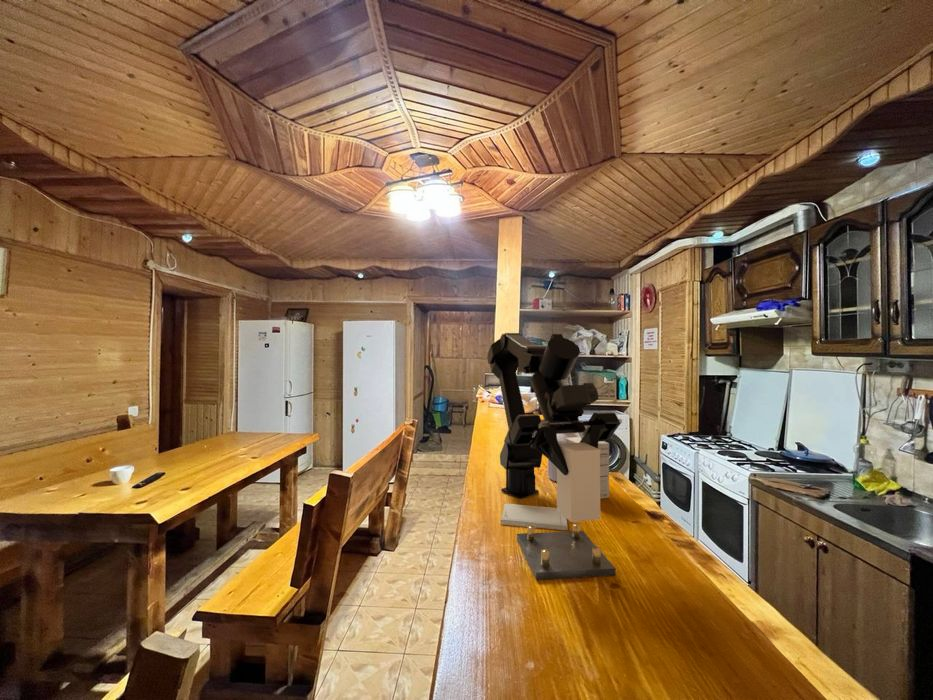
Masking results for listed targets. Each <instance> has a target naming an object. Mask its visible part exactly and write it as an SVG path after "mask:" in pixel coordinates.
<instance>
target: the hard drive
mask: <svg viewBox="0 0 933 700" xmlns="http://www.w3.org/2000/svg"><path fill="white" fill-rule="evenodd" d="M501 514H502V515H501V518H500V525H504V526H513V527H516V526H517V527H523V528H525V527H527V526H529V525H532V526H534V529H549V530H557V531H558V530H559V531H568V529H569V528H568V521H567V520H568V519H567V518H566V517H565V516H564V515H563V514H562V513H561V512H559V511H558V510H557V507H550V506H549V507H547V506H540V505H539V506H538V505H537V506H536V505H525V504H515V503H504V506H503V511H502V513H501Z"/></svg>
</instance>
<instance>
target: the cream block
mask: <svg viewBox="0 0 933 700" xmlns="http://www.w3.org/2000/svg"><path fill="white" fill-rule="evenodd" d="M559 446H560V448H561V451H562V453H563V456H564V458H565V461H566V464H567V467H568V471H569V473H568V474H567V475H564V474H563V473H562V472H561V471H560V470H559V469H558V468H557V482H556V508H557V510H558V511H559V512H561V513H562V514H563V515H564V516H565V517H566V519H567V520H568V521H569V522H571V523H576V522H588V521H596V520H597V521H598V520H601V499H600V449H598V448H595V447H593V446H591V445H588V444H586V443H584V442H583V443H564V444H559Z"/></svg>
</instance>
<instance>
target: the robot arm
mask: <svg viewBox="0 0 933 700" xmlns="http://www.w3.org/2000/svg"><path fill="white" fill-rule="evenodd" d="M580 350H581V349H580V347H579V345H578V344H576V343H575V342H574V341H572V340H570V339H568V338H566V337H564V335H563V333H561V334H559V333H552V334H551V335H550V338H549V341H548V342H547V344H546V345H541V344H536V343H534V342H533V341H531V340H529V339H528V338H526V337H525V336H523V334H522V333H519V332H504V333H502V334H501V336H500V338H499V339H497V340H496V341H495V342H493V343H491V345H490V347H489V349H488V351H487V358H486V359H487V363H488V365H489V366H490V371H491V373H492V374H493V375H494V376H495V377H496V378H497V379H498V381H499V386H500V392H501V396H502V402H503V406H504V412H505V417H506V421H507V427H508V430H507V433H506V436H505V437H504V439H503V445H502V449H501V451H500V454H499V462H500V465H501V466H502V468H503V469H504V470H505V487H503V488H501V489H500V490H501V492H503V493H505V494H507V495H510V496H512V497H514V498H518V499H520V500H521V499H524V498H527V497H530V496H531V497H532V496H534V495H536V494H537V495H538V494H539V493H540V491H539V489H536V475H535V469H536V468H537V469H539V468H541V465H542V461H543V456H544V457H545V458H547V460H548V459H549V460H550V461H551V462H552V463H553V464H554V465H555V466H556V467H557V468H558V469H559V470H560V471H561V472H562V473H563V474H564V475H567V474H568V473H569V471H568V467H567V464H566V461H565V458H564V456H563V453H562V451H561V448H560V446H559V443H558V441H557V434H568V433H576V434H578V436H579V437H581V439H582V440H581V441H580V443H583V442H584V443H586V444H588V445H591V446H593V447H595V448H598V442H600V441H604V442H607V441H608V440H610V439H611V437H612V436H613V434H614V433H615V432H616V431H617V429H618V428H619V427H620V425H621V421H620V419H619V418H618V416H617V414H616V412H612V411H602V412H598V411H597V412H593V413H592V415H591V416H590V417H589V420H580V419H579V417H582V416H583V414H584V413H585V412H584V410H583V408H585V407H587V406H590V405H592V404H594V402H596V401H598V400H599V393H598V389H597V388H596V386H595V384H594V383H593V382H585V383H583V384H566V385H565V384H564V382H563V380H566V379H568V378H569V376H570V375H571V372H572V371H573V368H574V365H575V363H576V361H577V360H578V358H579V355H580V353H581V351H580ZM518 369H520V370H521V371H522V373H523V374H525V375H529V374H530V375H532V376H531V379H530V383H531V385H530V387H529V389H530V390H529V392H530V393H534V394H535V397H536V399H537V403H538V408H537V414H534V413H533V414H526V411H525V406H524V402H523V398H522V394H521V393H522V392H521V389H520V385H519V384H520V383H519V380H518V375H517V371H518ZM564 385H565V386H564ZM541 415H542V417H543V418H542V419H541Z"/></svg>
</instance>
